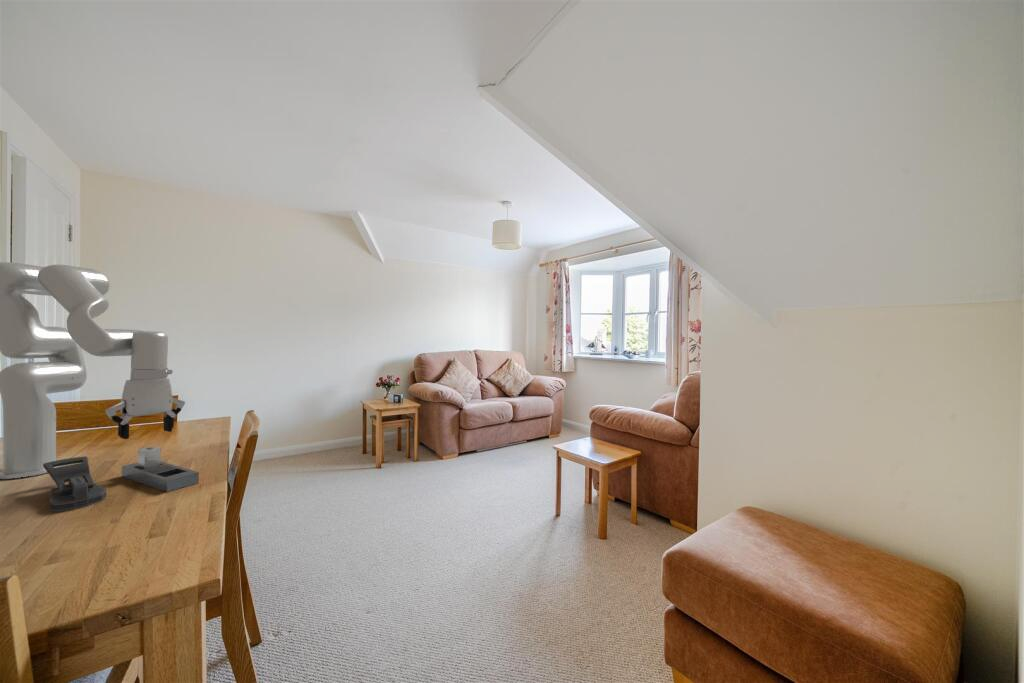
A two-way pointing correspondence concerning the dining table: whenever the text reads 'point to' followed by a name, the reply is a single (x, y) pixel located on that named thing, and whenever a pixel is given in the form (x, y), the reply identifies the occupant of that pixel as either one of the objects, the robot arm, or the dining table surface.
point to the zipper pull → (73, 485)
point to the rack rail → (161, 476)
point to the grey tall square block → (149, 457)
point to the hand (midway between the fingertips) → (146, 434)
